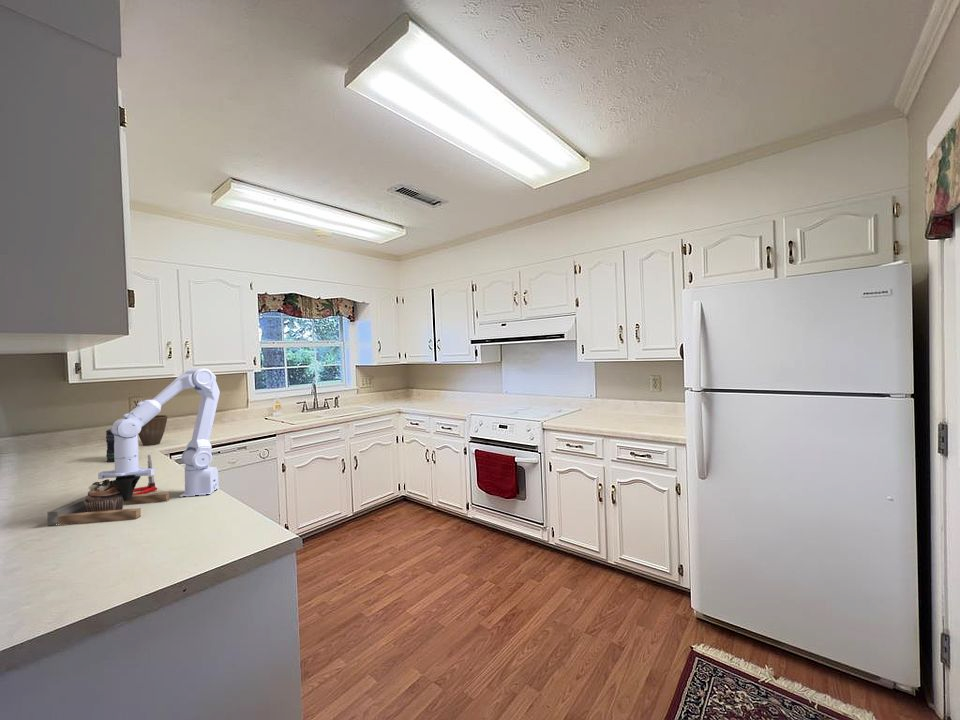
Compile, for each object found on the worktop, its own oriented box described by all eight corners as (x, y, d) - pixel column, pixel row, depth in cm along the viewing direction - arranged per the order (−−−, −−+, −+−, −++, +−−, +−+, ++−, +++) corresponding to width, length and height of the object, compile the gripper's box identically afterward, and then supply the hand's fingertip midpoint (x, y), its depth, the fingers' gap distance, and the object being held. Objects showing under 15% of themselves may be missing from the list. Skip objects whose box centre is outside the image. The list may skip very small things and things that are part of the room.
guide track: (169, 499, 136) (169, 487, 136) (136, 518, 120) (136, 505, 120) (93, 505, 132) (93, 493, 132) (47, 526, 116) (47, 512, 116)
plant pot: (174, 441, 240) (173, 415, 240) (150, 447, 225) (150, 418, 225) (152, 441, 242) (152, 415, 242) (127, 447, 228) (127, 418, 228)
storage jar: (111, 458, 199) (111, 428, 199) (136, 456, 203) (136, 427, 203) (102, 463, 190) (101, 431, 190) (128, 461, 194) (128, 430, 194)
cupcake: (134, 506, 130) (133, 475, 130) (106, 518, 121) (105, 484, 121) (104, 506, 130) (104, 476, 130) (74, 518, 121) (74, 485, 121)
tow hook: (125, 499, 139) (158, 491, 146) (121, 462, 138) (155, 456, 146) (118, 495, 144) (151, 487, 151) (115, 459, 143) (148, 453, 151)
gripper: (90, 461, 121) (91, 506, 121) (144, 458, 124) (145, 502, 124) (107, 455, 128) (108, 498, 128) (158, 453, 131) (159, 494, 131)
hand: (127, 499), depth 127 cm, fingers closed
